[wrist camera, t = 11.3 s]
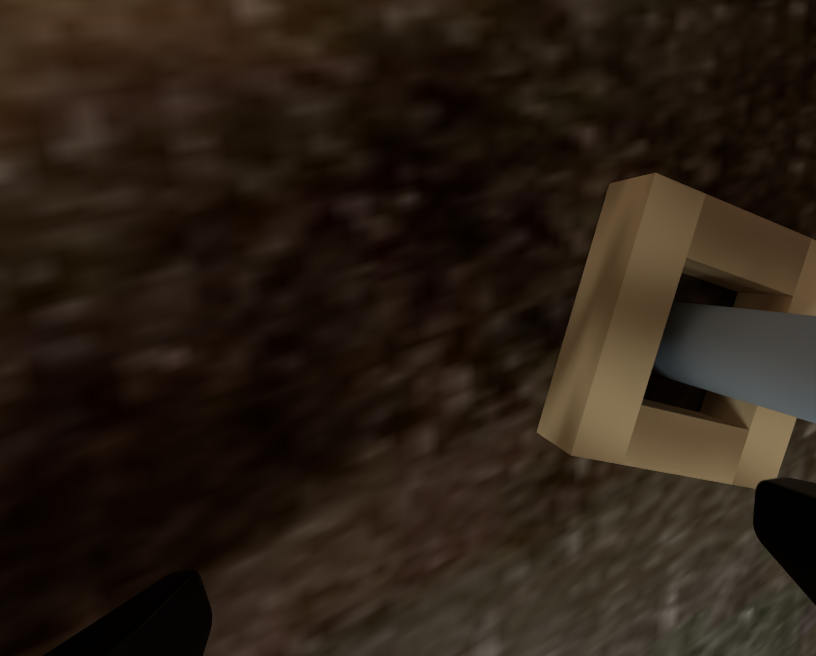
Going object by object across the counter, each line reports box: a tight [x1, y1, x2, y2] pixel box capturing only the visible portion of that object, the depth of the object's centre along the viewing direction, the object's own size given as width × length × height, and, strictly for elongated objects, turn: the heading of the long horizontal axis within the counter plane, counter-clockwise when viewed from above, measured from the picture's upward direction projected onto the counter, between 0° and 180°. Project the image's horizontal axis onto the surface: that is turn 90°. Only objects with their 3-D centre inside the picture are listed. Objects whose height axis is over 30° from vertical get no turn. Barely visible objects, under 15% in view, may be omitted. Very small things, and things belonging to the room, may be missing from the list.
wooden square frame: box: [537, 173, 816, 489], centre depth 20 cm, size 11×11×2 cm
